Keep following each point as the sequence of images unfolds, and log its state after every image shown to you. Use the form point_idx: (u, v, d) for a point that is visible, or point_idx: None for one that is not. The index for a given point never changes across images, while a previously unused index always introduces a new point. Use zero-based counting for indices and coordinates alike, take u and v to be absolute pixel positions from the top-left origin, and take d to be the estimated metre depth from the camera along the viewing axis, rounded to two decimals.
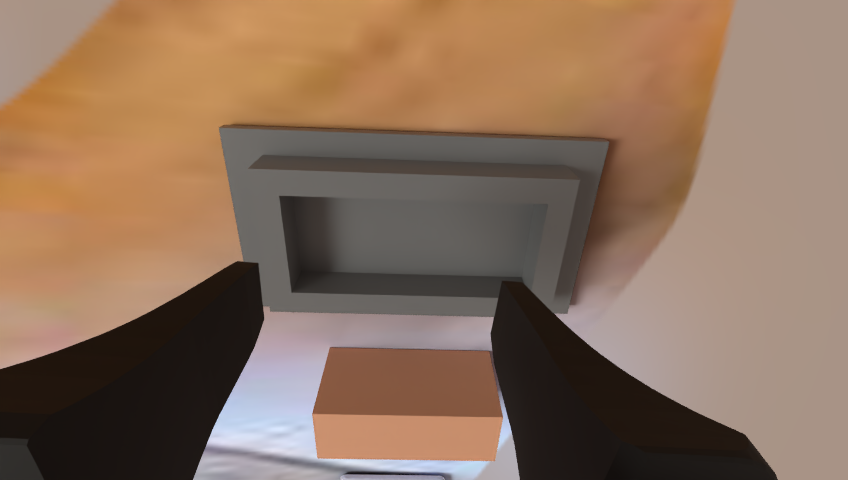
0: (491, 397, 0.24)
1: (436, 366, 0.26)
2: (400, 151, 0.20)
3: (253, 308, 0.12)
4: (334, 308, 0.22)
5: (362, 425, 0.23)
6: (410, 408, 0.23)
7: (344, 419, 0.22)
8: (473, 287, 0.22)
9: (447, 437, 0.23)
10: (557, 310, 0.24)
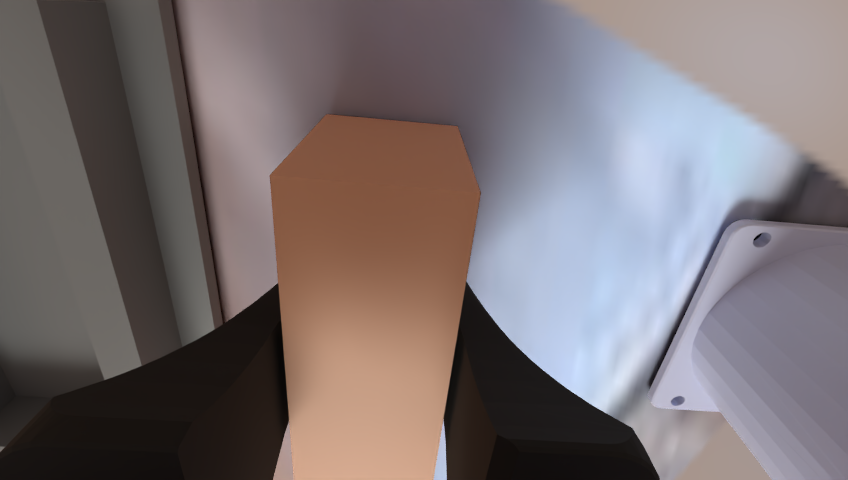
0: None
1: None
2: None
3: None
4: None
5: (324, 459, 0.11)
6: None
7: None
8: None
9: (362, 315, 0.09)
10: None
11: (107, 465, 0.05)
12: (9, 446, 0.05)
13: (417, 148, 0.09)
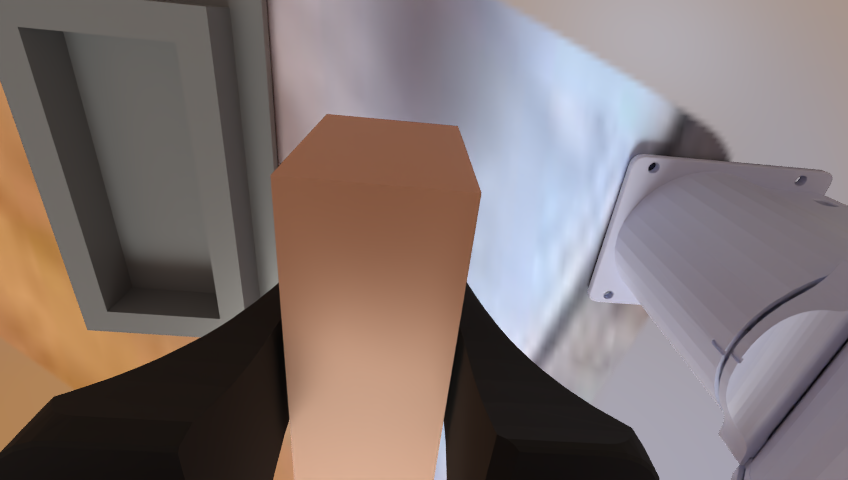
0: None
1: None
2: None
3: None
4: (234, 284, 0.19)
5: (324, 459, 0.11)
6: None
7: None
8: None
9: (362, 315, 0.09)
10: None
11: (107, 465, 0.05)
12: (9, 446, 0.05)
13: (417, 148, 0.09)
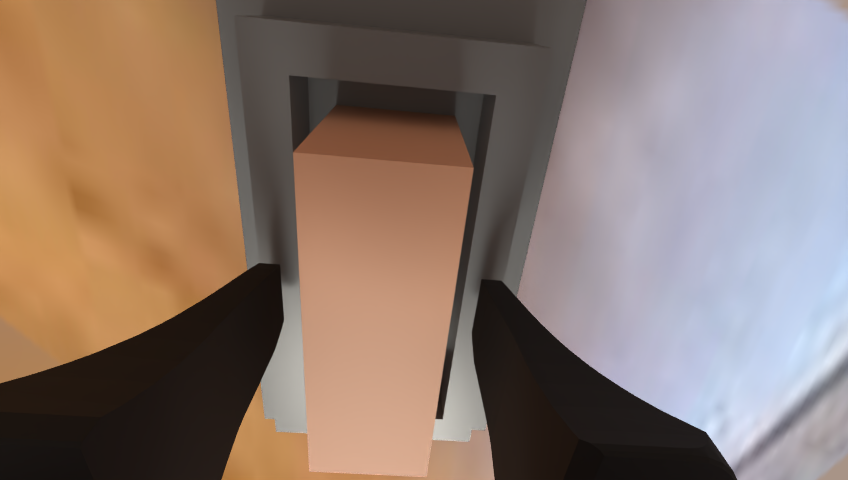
0: None
1: None
2: None
3: (275, 310, 0.12)
4: (473, 382, 0.15)
5: (335, 414, 0.12)
6: None
7: (320, 435, 0.12)
8: (476, 185, 0.13)
9: (370, 279, 0.10)
10: None
11: (11, 461, 0.05)
12: None
13: (419, 133, 0.11)
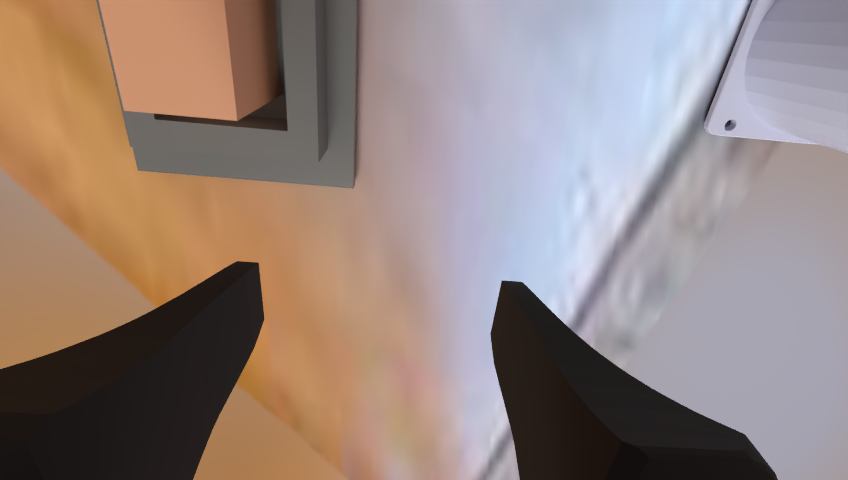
0: None
1: None
2: None
3: (253, 308, 0.12)
4: (308, 79, 0.16)
5: (131, 24, 0.13)
6: None
7: (123, 55, 0.13)
8: None
9: None
10: None
11: None
12: None
13: None
